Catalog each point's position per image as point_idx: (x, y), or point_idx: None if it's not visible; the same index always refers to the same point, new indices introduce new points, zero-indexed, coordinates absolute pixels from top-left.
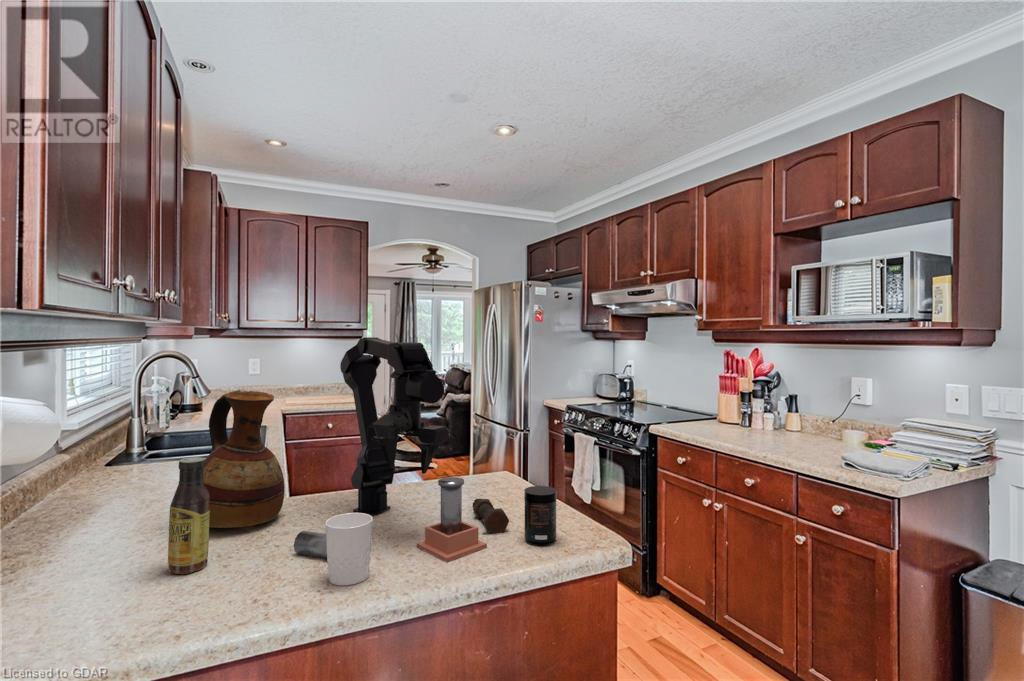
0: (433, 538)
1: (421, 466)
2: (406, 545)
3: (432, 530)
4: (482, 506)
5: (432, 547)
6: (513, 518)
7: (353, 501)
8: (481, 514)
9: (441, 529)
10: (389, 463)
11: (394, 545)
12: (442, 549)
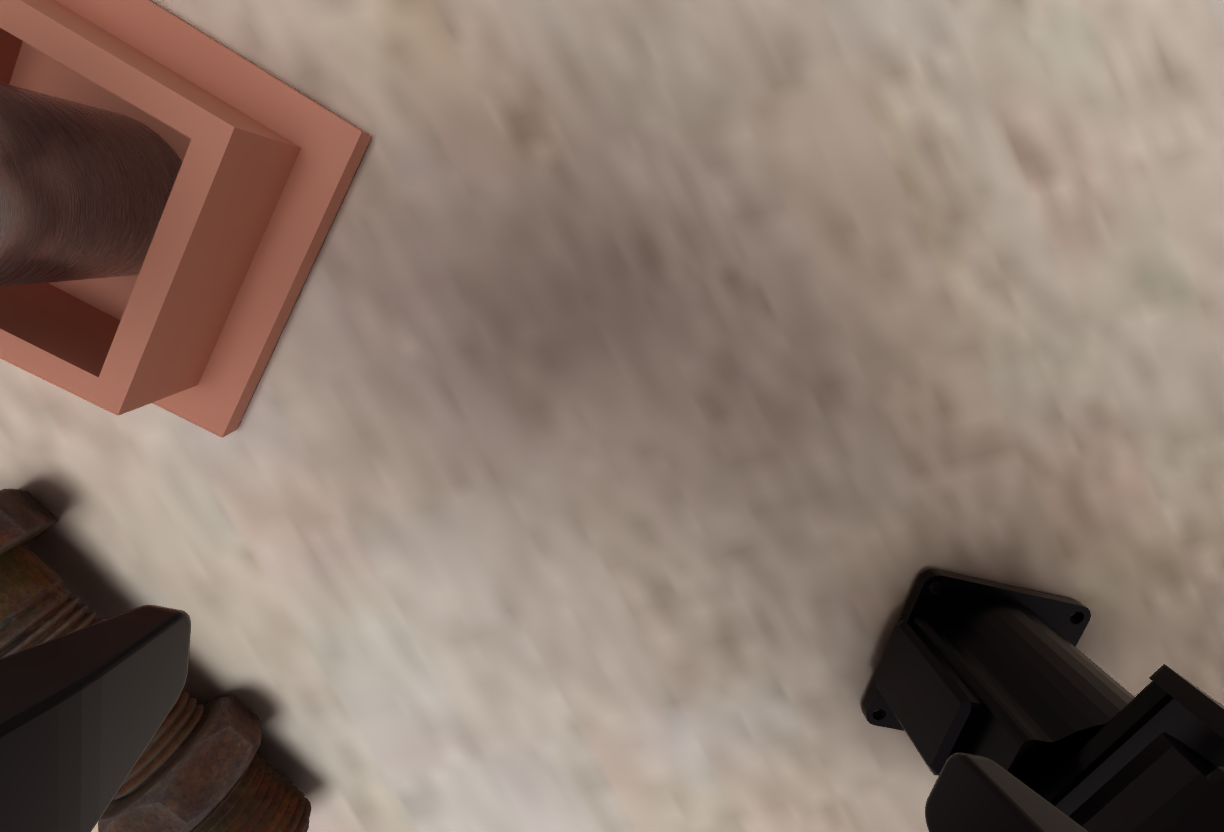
0: (149, 66)
1: (49, 692)
2: (457, 149)
3: (118, 60)
4: None
5: (200, 78)
6: None
7: None
8: None
9: (58, 112)
10: (1032, 823)
11: (539, 125)
12: (67, 10)
